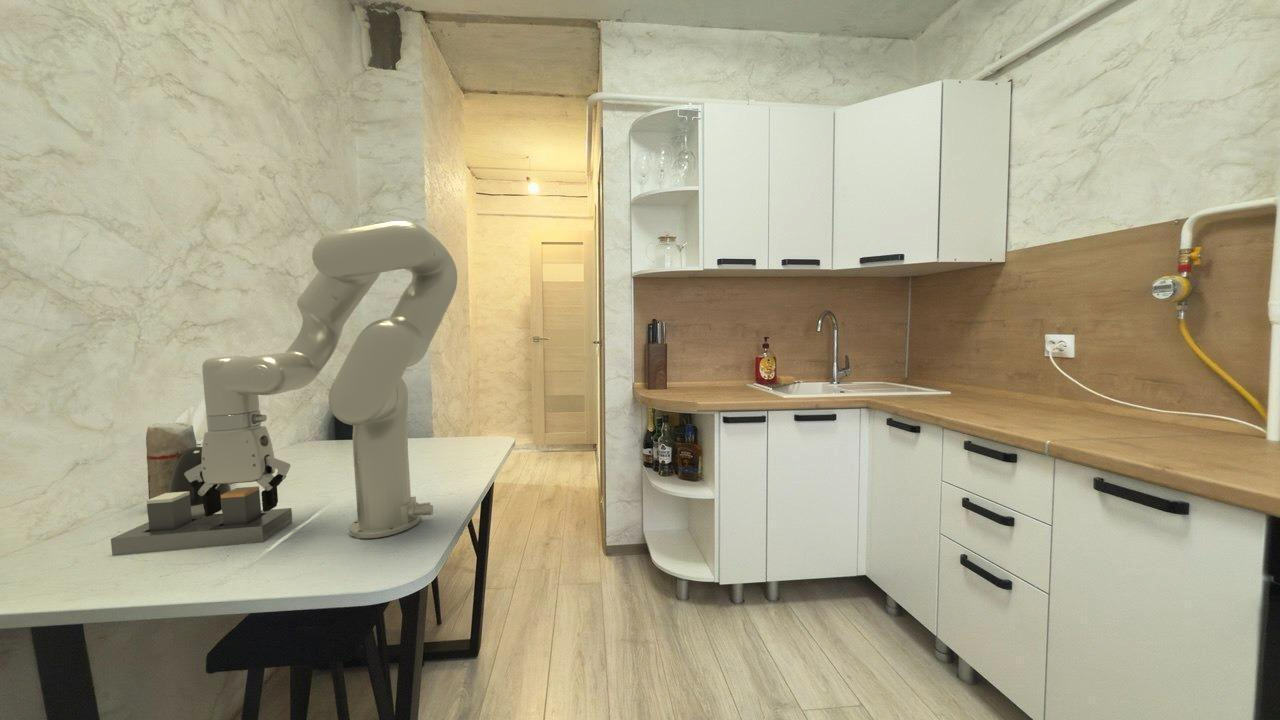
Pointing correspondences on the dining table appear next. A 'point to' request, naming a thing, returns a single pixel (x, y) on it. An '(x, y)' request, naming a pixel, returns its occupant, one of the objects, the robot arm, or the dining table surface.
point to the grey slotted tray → (202, 534)
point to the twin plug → (169, 511)
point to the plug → (241, 506)
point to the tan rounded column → (165, 453)
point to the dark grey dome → (182, 484)
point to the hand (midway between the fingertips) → (242, 511)
